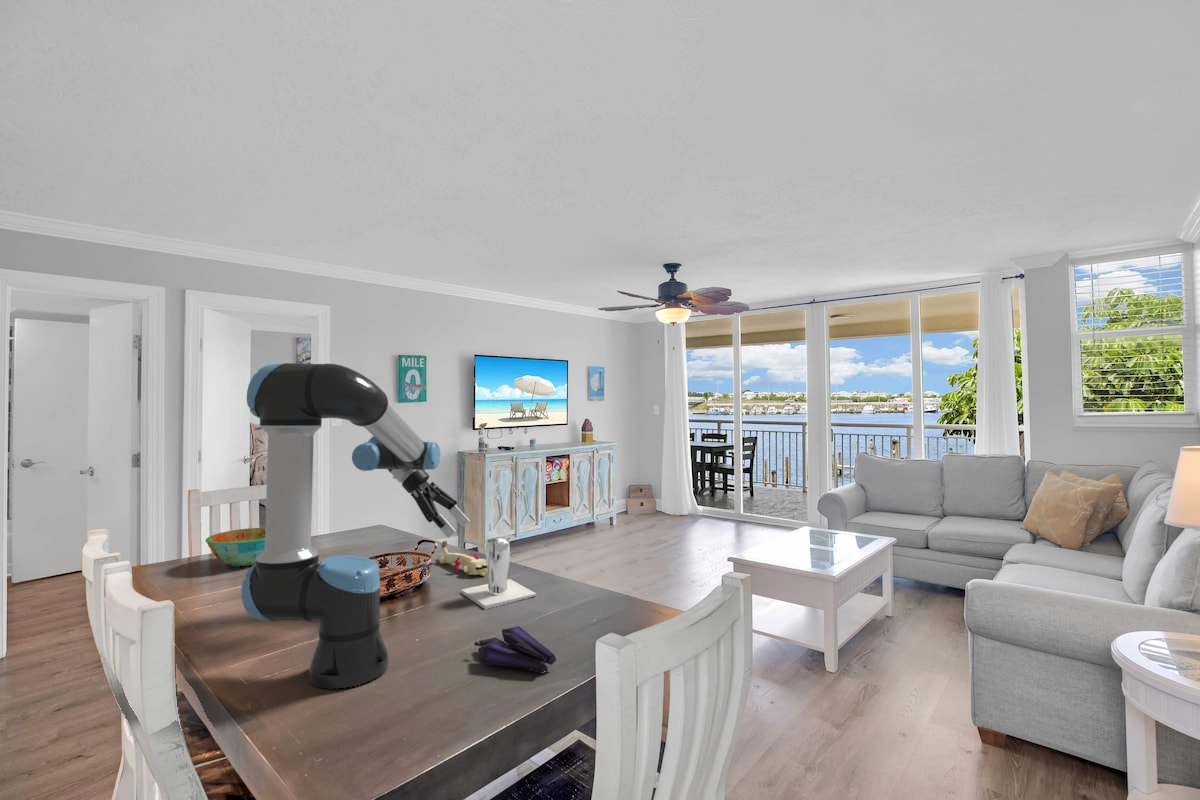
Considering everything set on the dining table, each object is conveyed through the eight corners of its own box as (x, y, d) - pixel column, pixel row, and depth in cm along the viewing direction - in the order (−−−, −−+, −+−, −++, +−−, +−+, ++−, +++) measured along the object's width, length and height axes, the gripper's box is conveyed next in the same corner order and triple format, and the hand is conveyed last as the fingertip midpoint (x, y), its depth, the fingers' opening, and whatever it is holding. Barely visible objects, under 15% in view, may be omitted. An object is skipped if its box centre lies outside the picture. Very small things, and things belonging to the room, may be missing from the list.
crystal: (565, 636, 122) (497, 609, 133) (529, 663, 113) (460, 631, 124) (564, 667, 123) (498, 637, 134) (529, 695, 114) (461, 661, 125)
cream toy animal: (430, 569, 194) (472, 579, 177) (429, 543, 195) (471, 550, 178) (455, 562, 202) (498, 571, 185) (454, 538, 202) (497, 544, 185)
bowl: (224, 578, 179) (224, 546, 179) (193, 566, 191) (193, 537, 191) (295, 561, 198) (295, 532, 198) (262, 551, 210) (262, 524, 210)
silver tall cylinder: (514, 591, 165) (514, 540, 165) (495, 597, 160) (495, 544, 160) (500, 586, 170) (500, 536, 170) (480, 591, 165) (480, 540, 165)
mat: (536, 596, 163) (536, 593, 163) (485, 609, 154) (485, 605, 154) (510, 582, 176) (510, 579, 176) (461, 592, 167) (461, 589, 167)
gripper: (417, 478, 179) (462, 528, 178) (383, 490, 154) (435, 548, 153) (434, 462, 178) (480, 512, 178) (403, 472, 154) (455, 530, 153)
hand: (459, 529), depth 165 cm, fingers open, 13 cm apart
